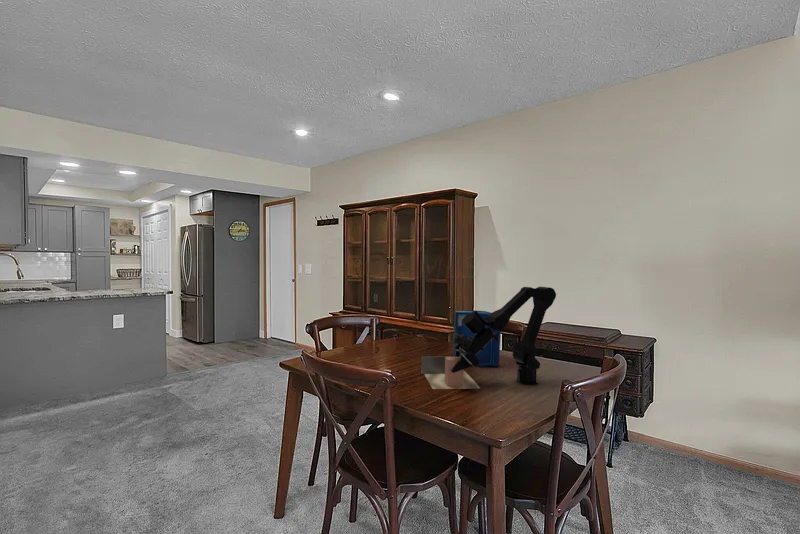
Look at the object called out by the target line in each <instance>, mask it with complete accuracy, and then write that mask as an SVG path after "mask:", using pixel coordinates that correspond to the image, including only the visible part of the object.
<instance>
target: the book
mask: <svg viewBox="0 0 800 534" xmlns="http://www.w3.org/2000/svg"><path fill="white" fill-rule="evenodd" d="M473 311H477V312H478V313H479V315H480V316H481V317H482V318H486V317H487V316H488V315H490V314H491V313H492V312H490V311H486V310H473V309H455V310H454V329H453V335H454V334H455V333H457V334H459V335H462V334H463V335H465V336H467V339H468V338H469V337H473V336H474V335H475V334H476V333H472V332H471V331H470V330H469V329H468V328H467V327H466V326H465V325H464V324H463V323H462V320H463V318H464V317H465V316H467V315H468V314H469V313H472V312H473ZM485 327H486V328H488V327H487V326H486V325H485ZM491 330H492V331H493V332H494V333H497V334H498V341H496V340H494V339H492V340H491V341H490V342H489V343H488V344H487V345H486V346H485V347H484V350H483V351H482V350H481V351H480V352H479V353H478V354H477V355H476V358H477V359H478V360H479V361H480V364H479V365H478V366H477V368H485V367H499V365H500V353H501V352H500V349H501V331H497V330H493V329H491ZM455 344H456V343H455V342H453V347H452V357H454V355H455V350H454V349H456V348H455V347H454V345H455ZM471 365H472V366H474V365H473V364H471Z"/></svg>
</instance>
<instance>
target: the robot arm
mask: <svg viewBox="0 0 800 534" xmlns="http://www.w3.org/2000/svg"><path fill="white" fill-rule="evenodd" d="M531 298H532V301H533V303H532V304H533V308H532V311H531V314H530V316H529V319H528V323H527V324H526V325H527V326H526V327H525V328H526V329H525V331H524V334H523V337H522V339H521V341H519V342H518V341H516V342H515V343H514V347H513V349H512V357H513V360H514V361H515V363H516V365H517V366H518V369H517V370H516V381H518V382H519V383H520V384H522V385H538V384H539V382H538V381H537V370H539V369H540V367H541V362H540V361H538V359H537V358H536V355H537V351H536V350H537V349H536V341H537V338H538V335H539V331H540V329H541V327H542V323H543V321H544V318H545V315H546V312H547V310H548V309H549V308H550V307H551V306H552V305H553V303H554V301H555V299H556V298H557V293H556V291H555V289H554V288H553V287H548V286H537V287H535V288H533V287H531V286H523V287H521V288H520V290H519V291H518V292H517V293H516V294H515V295H514V296H513V297H512V298H511V299H510V300H509V301H507V302H506V303H505V304H504V305H503V306H502V307H501V308H499V309H497V310H494V311H493V312H490V313H491V314H490V315H488V316H487V317H486V318H482V317H481V316H480V315H479V313H478V312H477V311H478V310H475V311H473V312H472V313H469V314H468V315H467V316H465V317H464V318H463V320H462V323H463V324H464V325H465V326H466V327H467V328H468V329H469V330H470V331H471V332H472V333H476V334H475V335H474V336H473V337H469V338H468V339H467V336H465V335H463V334H462V335H459V334H457V333H455V334H454V333H453V337H452V339H451V341H453V342H452V343H454V342H455V343H456V344H455V345H454V344H453V346H454V347H455V348H456V349H454V350H455V355H454V357H460V359H459V361H458V362H457V363H456V365H455V366H454V367H453V369H452V370H451V371H452V372H453V373H454V372H457V371H460V370H463V369H464V370H465V369H469V368H473V367H474V368H478V365H479V364H480V361H479V360H478V359H477V358H476V355H477V354H478V353H479V352H480V351H481V350H482V351H483V350H484V347H485V346H486V345H487V344H488V343H489V342H490V341H491V340H492V339H494V340H496V341H498V334H497V333H494V332H493V331H492V330H491V329H493V330H497V331H504V330H505V329H506V327H507V325H508V324H509V323H510V320H511V318H512V316H513V315H514V314H515V313H516V312H517V311H518V310H519V309H521V308H522V307H523V306H524V305H525V304H526V303H527V302H528V301H529V300H530V299H531ZM485 325H486V326H487V327H488V328H486V327H485ZM471 364H473V365H471Z"/></svg>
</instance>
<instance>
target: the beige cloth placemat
mask: <svg viewBox="0 0 800 534" xmlns="http://www.w3.org/2000/svg"><path fill="white" fill-rule="evenodd" d="M424 376H425V378H426V380H427V382H428V383H429V385H430V387H431V388H432V389H433V390H454V389H455V390H456V389H457V390H458V389H459V390H462V389H463V390H465V389H466V390H467V389H469V390H470V389H481V387H480V386H479V385H478V383H477V382H476V381H475V380H474V379H473V378H472V377H471V376H470V375H469V374H468V372H466V371H465V370H464V371H463V386H457V387H447V385H446V384H445V374H424Z"/></svg>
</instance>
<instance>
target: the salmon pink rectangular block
mask: <svg viewBox="0 0 800 534" xmlns="http://www.w3.org/2000/svg"><path fill="white" fill-rule="evenodd" d="M459 359H460V357H453V356H450V357H445V384H446V385H447V387H457V386H463V371H465V369H463V370H460V371H457V372H454V373H453V372H452V371H451V370H452V369H453V367H454V366H455V365H456V363H457V362H458V361H459Z"/></svg>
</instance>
